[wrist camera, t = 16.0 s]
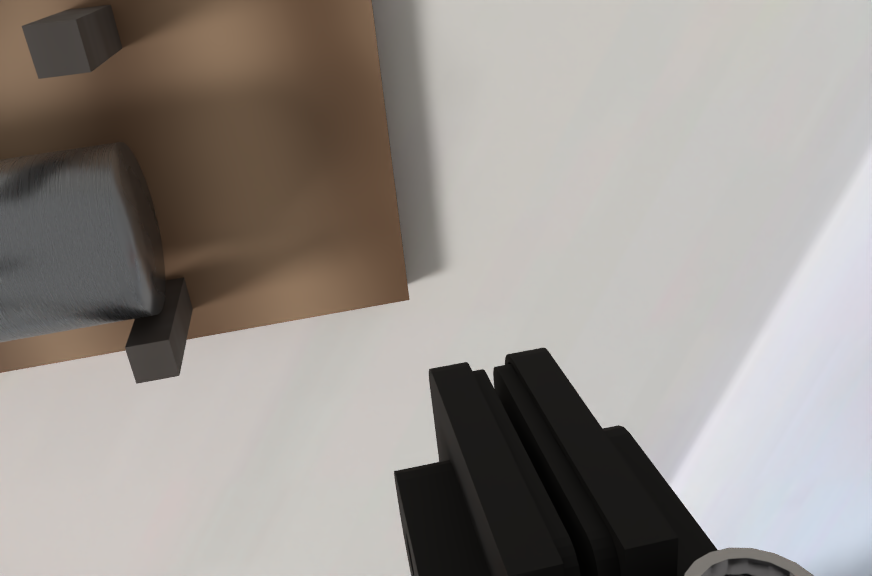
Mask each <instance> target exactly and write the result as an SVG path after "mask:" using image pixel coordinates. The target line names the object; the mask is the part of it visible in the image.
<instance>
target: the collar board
mask: <svg viewBox="0 0 872 576" xmlns="http://www.w3.org/2000/svg"><path fill="white" fill-rule="evenodd" d="M117 142H123V143H124V144H126V145H127V146H128V147H129V148H130V150H131V151H132V152H133V154H134V156H135V157H136V159H137V161H138V163H139V165H140V168H141V170H142V172H143V175H144V177H145V180H146V183H147V186H148V189H149V192H150V195H151V198H152V202H153V205H154V209H155V213H156V217H157V221H158V226H159V231H160V236H161V242H162V248H163V255H164V264H165V279H166V291H165V301H164V306H163V309H162V311H161V312H160V313H159V314H157V315H153V316H147V317H141V318H136V319H130V320H124V321H119V322H113V323H107V324H102V325H96V326H91V327H85V328H79V329H74V330H68V331H62V332H57V333H51V334H45V335H40V336H34V337H28V338H23V339H17V340H11V341H6V342H0V373H1V372H7V371H13V370H18V369H24V368H29V367H35V366H41V365H46V364H52V363H57V362H63V361H69V360H74V359H80V358H86V357H91V356H97V355H102V354H108V353H114V352H119V351H125V350H126V352H127V356H128V359H129V362H130V365H131V368H132V371H133V374H134V377H135V380H136V384H137V383H142V382H148V381H153V380H159V379H164V378H169V377H175V376H179V375H180V370H181V365H182V360H183V355H184V350H185V345H186V340H187V339H192V338H198V337H203V336H209V335H215V334H220V333H226V332H231V331H237V330H243V329H248V328H254V327H259V326H265V325H271V324H276V323H282V322H287V321H293V320H299V319H304V318H310V317H315V316H321V315H327V314H332V313H338V312H344V311H349V310H355V309H360V308H366V307H372V306H377V305H383V304H388V303H394V302H400V301H405V300H409V293H408V285H407V277H406V269H405V262H404V254H403V246H402V238H401V230H400V222H399V214H398V206H397V198H396V190H395V183H394V175H393V167H392V159H391V151H390V143H389V135H388V127H387V119H386V112H385V104H384V96H383V88H382V80H381V72H380V64H379V56H378V48H377V40H376V33H375V25H374V17H373V9H372V1H371V0H0V159H7V158H14V157H21V156H28V155H35V154H42V153H48V152H55V151H62V150H69V149H76V148H83V147H90V146H96V145H103V144H110V143H117Z"/></svg>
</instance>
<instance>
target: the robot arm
mask: <svg viewBox="0 0 872 576" xmlns="http://www.w3.org/2000/svg"><path fill="white" fill-rule="evenodd" d="M493 375H494V387H493V385H492V383H491V382H490V380H489V378H488V376H487V374H486V372H485V370H483V369H482V370H477V371H472V370H471V368H470V366H469V364H468V362H464V363H459V364H454V365H448V366H443V367H438V368H433V369H429V382H430V390H431V398H432V406H433V414H434V422H435V430H436V438H437V446H438V454H439V462H437V463H432V464H427V465H423V466H418V467H413V468H408V469H403V470H398V471H394V476H395V484H396V490H397V497H398V503H399V510H400V516H401V522H402V528H403V534H404V539H405V545H406V550H407V556H408V561H409V566H410V571H411V576H814V575H812V574H811V573H810V572H808V571H807V570H805V569H804V568H802V567H801V566H800V565H798V564H797V563H795V562H793V561H791V560H788V559H786V558H784V557H782V556H779V555H777V554H775V553H771V552H766V551H762V550H757V549H753V548H726V549H722V550H717V549H716V547H715V546H714V545H713V543H712V542H711V541H710V539H709V538H708V537H707V535H706V534H705V533H704V531H703V530H702V529H701V527H700V526H699V525H698V523H697V522H696V521H695V519H694V518H693V517H692V515H691V514H690V513H689V511H688V510H687V509H686V507H685V506H684V505H683V503H682V502H681V501H680V499H679V498H678V497H677V495H676V494H675V493H674V491H673V490H672V489H671V487H670V486H669V485H668V483H667V482H666V481H665V479H664V478H663V477H662V475H661V474H660V473H659V471H658V470H657V469H656V467H655V466H654V465H653V463H652V462H651V461H650V459H649V458H648V457H647V455H646V454H645V453H644V451H643V450H642V449H641V447H640V446H639V445H638V443H637V442H636V441H635V439H634V438H633V437H632V435H631V434H630V433H629V432H628V431H627V430H626V429H625V428H624V427H622V426H619V425H618V426H614V427H609V428H604V429H602V427H601V426H600V425H599V423H598V422H597V420H596V419H595V417H594V416H593V415H592V413H591V412H590V410H589V409H588V407H587V406H586V405H585V403H584V402H583V400H582V399H581V397H580V396H579V395H578V393H577V392H576V390H575V389H574V387H573V386H572V384H571V383H570V382H569V380H568V379H567V377H566V376H565V374H564V373H563V372H562V370H561V369H560V367H559V366H558V364H557V363H556V362H555V360H554V359H553V357H552V356H551V354H550V353H549V352H548V350H547V349H546V348H539V349H534V350H528V351H523V352H518V353H512V354H507V355H506V358H505V365H503V366H498V367H494V372H493Z"/></svg>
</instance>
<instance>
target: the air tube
mask: <svg viewBox="0 0 872 576" xmlns="http://www.w3.org/2000/svg"><path fill="white" fill-rule="evenodd" d="M165 291H166V279H165V264H164V255H163V248H162V242H161V236H160V231H159V226H158V221H157V217H156V213H155V209H154V205H153V202H152V198H151V195H150V192H149V189H148V186H147V183H146V180H145V177H144V175H143V172H142V170H141V168H140V165H139V163H138V161H137V159H136V157H135V156H134V154H133V152H132V151H131V150H130V148H129V147H128V146H127V145H126V144H124V143H123V142H117V143H110V144H103V145H96V146H90V147H83V148H76V149H69V150H62V151H55V152H48V153H42V154H35V155H28V156H21V157H14V158H7V159H0V342H6V341H11V340H17V339H23V338H28V337H34V336H40V335H45V334H51V333H57V332H62V331H68V330H74V329H79V328H85V327H91V326H96V325H102V324H107V323H113V322H119V321H124V320H130V319H136V318H141V317H147V316H153V315H157V314H159V313H160V312H161V311H162V309H163V306H164V301H165Z"/></svg>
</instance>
